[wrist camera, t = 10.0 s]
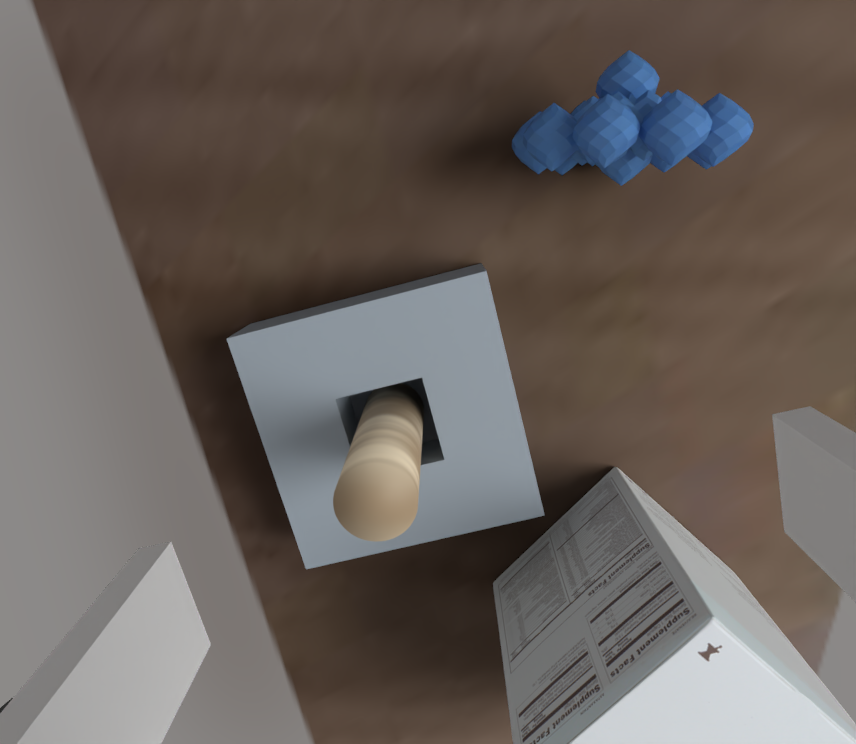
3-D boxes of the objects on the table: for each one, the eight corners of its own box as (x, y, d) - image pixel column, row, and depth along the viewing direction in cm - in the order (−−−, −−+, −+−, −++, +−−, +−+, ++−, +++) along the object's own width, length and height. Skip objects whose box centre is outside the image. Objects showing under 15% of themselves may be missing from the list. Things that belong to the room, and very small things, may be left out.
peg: (358, 390, 44) (322, 474, 30) (415, 375, 43) (405, 454, 30) (374, 444, 45) (346, 549, 31) (430, 430, 44) (427, 531, 31)
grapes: (699, 70, 39) (808, 14, 28) (690, 186, 41) (788, 179, 29) (506, 74, 39) (533, 20, 28) (505, 189, 41) (529, 184, 30)
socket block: (250, 323, 44) (226, 338, 39) (481, 263, 42) (486, 270, 37) (319, 532, 47) (306, 569, 43) (534, 482, 46) (544, 515, 41)
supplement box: (486, 583, 48) (509, 788, 31) (614, 461, 46) (715, 613, 29) (611, 685, 50) (697, 930, 33) (741, 574, 48) (905, 779, 31)
